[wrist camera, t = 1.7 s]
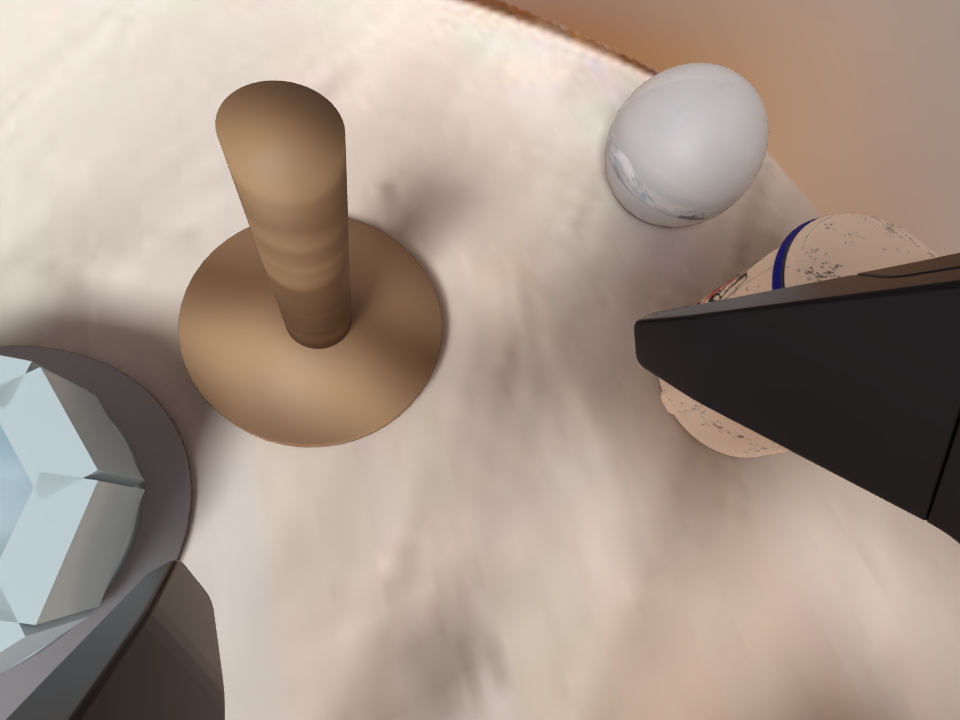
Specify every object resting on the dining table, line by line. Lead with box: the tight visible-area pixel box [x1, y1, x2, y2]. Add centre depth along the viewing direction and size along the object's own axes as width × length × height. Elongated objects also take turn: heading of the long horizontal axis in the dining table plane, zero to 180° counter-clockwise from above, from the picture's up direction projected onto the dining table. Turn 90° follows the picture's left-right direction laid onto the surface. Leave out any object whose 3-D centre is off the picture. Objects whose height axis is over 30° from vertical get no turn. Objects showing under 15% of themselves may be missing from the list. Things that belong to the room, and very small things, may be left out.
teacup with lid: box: [659, 213, 938, 458], centre depth 21 cm, size 12×9×12 cm
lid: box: [178, 81, 442, 447], centre depth 17 cm, size 11×11×12 cm
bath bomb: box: [605, 63, 768, 227], centre depth 26 cm, size 8×8×8 cm
